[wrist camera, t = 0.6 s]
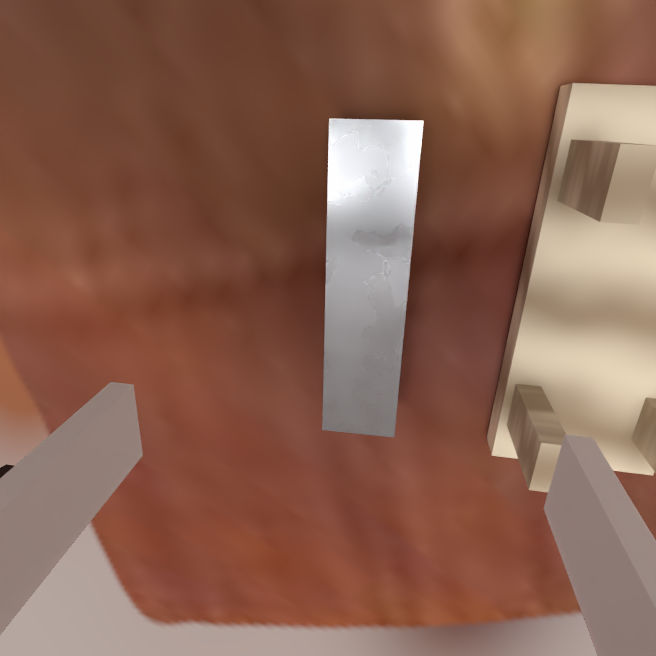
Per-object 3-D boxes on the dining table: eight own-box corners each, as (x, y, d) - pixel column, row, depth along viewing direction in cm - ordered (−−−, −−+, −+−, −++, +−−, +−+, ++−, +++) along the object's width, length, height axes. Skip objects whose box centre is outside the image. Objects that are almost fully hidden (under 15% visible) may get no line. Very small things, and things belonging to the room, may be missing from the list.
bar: (340, 119, 27) (329, 118, 23) (420, 121, 27) (423, 120, 23) (332, 393, 34) (322, 429, 30) (395, 399, 34) (394, 437, 30)
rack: (560, 86, 25) (625, 70, 18) (772, 93, 24) (936, 79, 16) (486, 437, 34) (509, 524, 26) (638, 455, 32) (707, 551, 25)
